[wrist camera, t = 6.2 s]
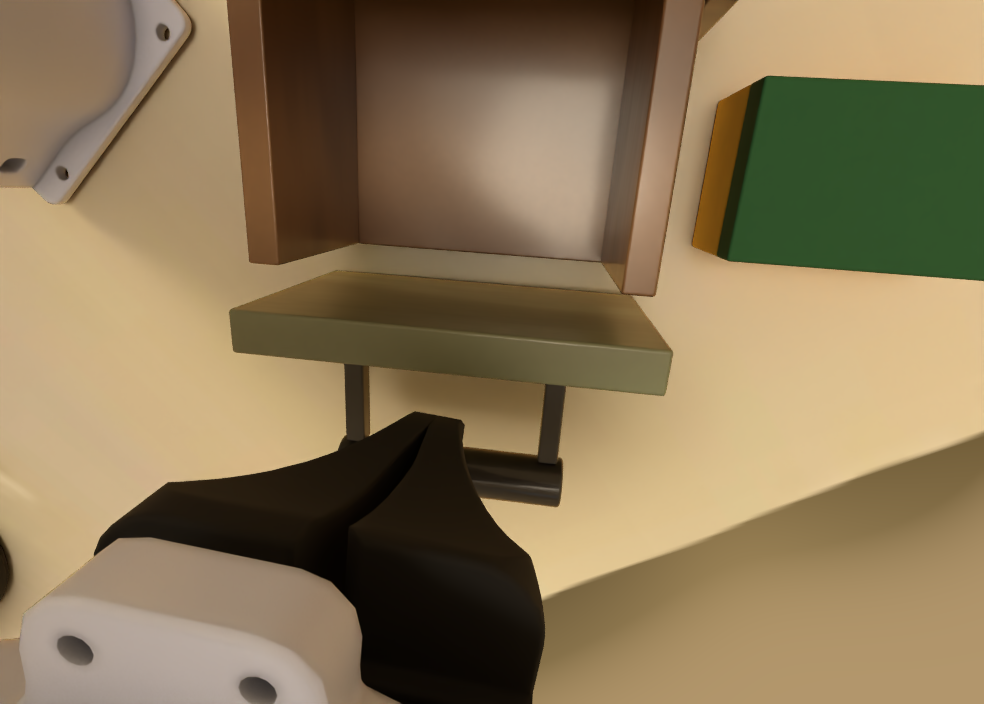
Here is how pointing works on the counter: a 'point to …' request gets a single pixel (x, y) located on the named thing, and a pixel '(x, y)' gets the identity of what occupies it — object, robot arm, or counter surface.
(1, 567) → the black speaker
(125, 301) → the counter surface
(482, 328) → the drawer
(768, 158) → the sponge
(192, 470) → the counter surface
